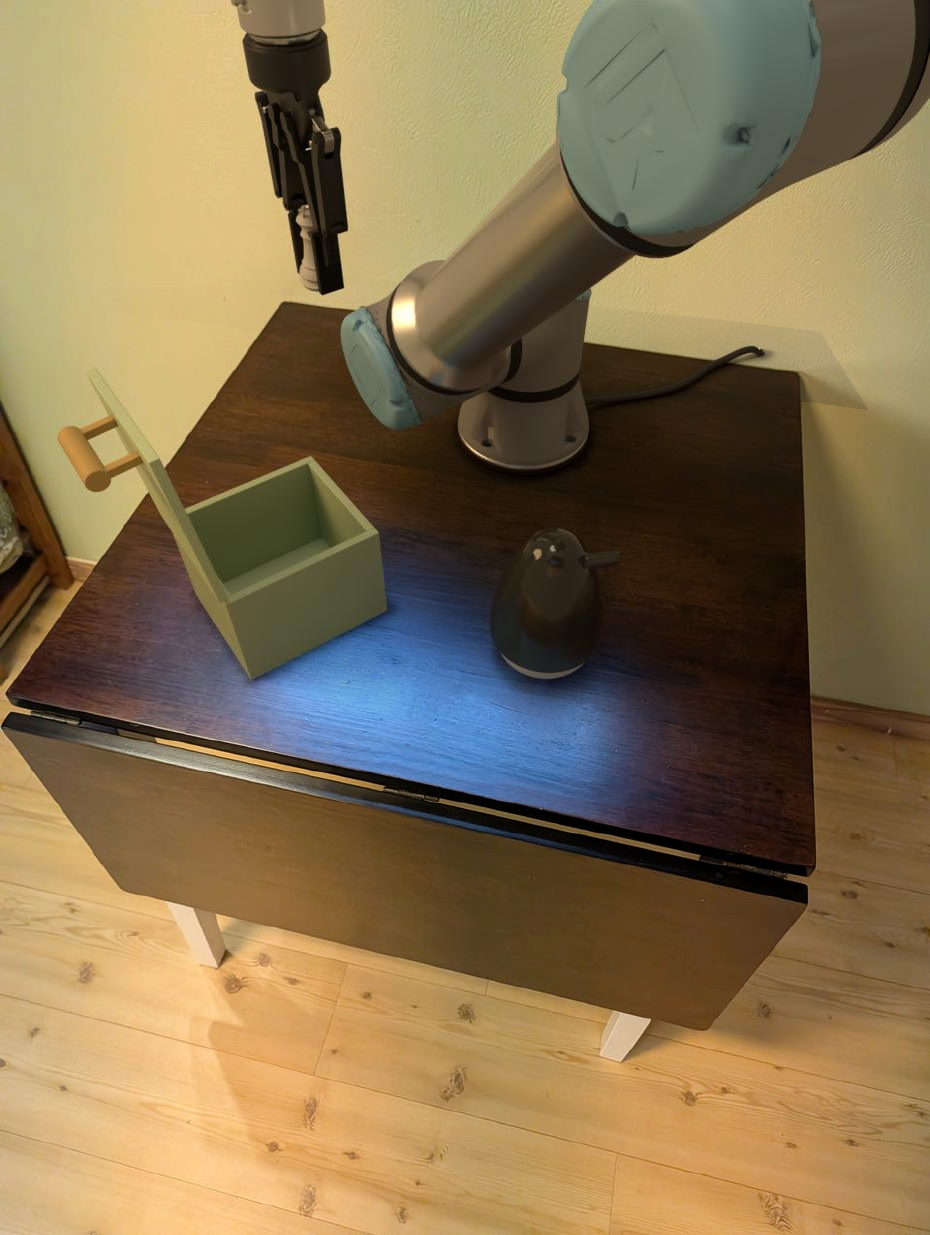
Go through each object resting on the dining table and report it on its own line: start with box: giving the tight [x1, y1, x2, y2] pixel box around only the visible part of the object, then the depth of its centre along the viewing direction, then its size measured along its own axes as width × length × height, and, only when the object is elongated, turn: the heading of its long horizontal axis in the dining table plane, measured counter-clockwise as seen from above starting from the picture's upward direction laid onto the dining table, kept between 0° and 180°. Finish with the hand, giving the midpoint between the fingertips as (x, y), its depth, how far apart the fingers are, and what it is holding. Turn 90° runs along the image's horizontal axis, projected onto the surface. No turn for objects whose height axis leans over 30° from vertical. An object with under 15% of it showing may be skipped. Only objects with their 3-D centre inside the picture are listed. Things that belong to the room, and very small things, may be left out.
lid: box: [56, 366, 228, 603], centre depth 65 cm, size 16×13×5 cm
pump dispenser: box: [489, 526, 622, 680], centre depth 73 cm, size 10×10×15 cm
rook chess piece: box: [296, 205, 319, 293], centre depth 90 cm, size 4×4×8 cm
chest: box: [171, 455, 388, 681], centre depth 79 cm, size 15×13×11 cm
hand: (320, 279), depth 93 cm, fingers closed on rook chess piece, 4 cm apart
